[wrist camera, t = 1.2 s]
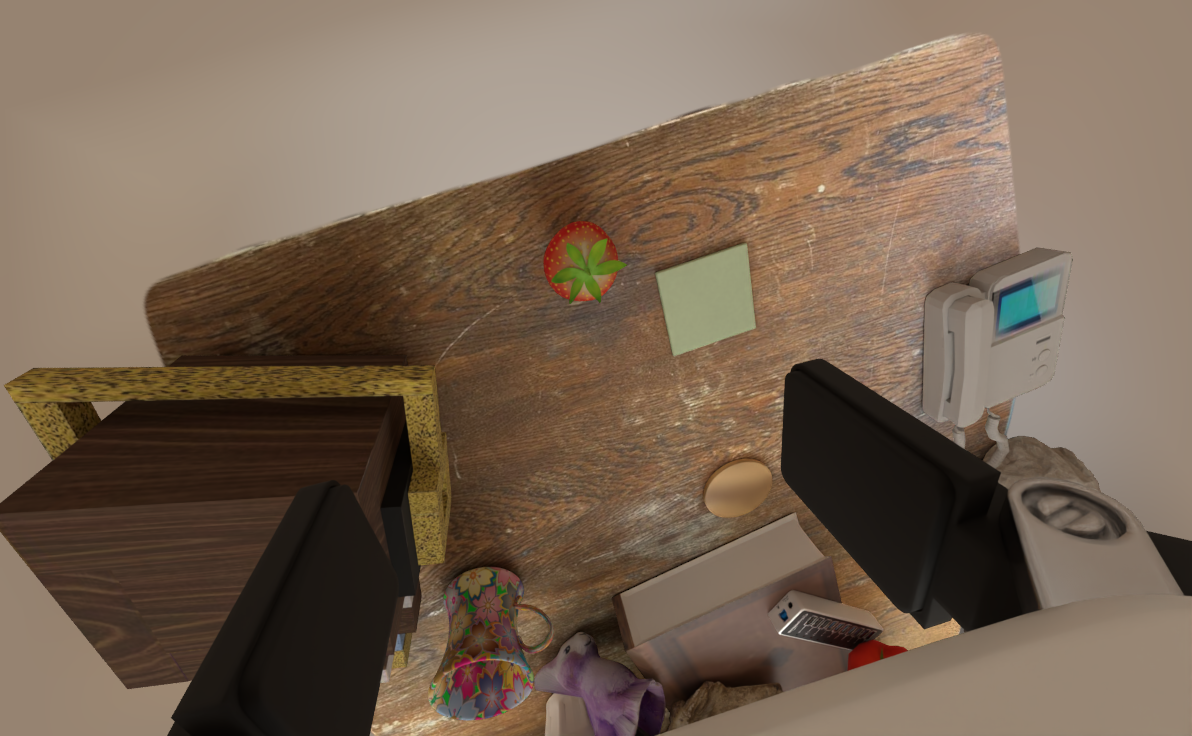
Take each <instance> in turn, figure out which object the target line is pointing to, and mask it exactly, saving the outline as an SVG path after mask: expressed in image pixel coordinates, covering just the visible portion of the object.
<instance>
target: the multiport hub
mask: <svg viewBox="0 0 1192 736" xmlns="http://www.w3.org/2000/svg"><path fill="white" fill-rule="evenodd" d="M768 616H769V617H770V619H771V621H772V623H773V625H774V626H775V628H776V630H777V632H778V633H779V634H780V635H784V636H789V637H793V638H798V639H802V640H807V641H812V642H816V643H821V644H825V645H830V646H834V647H839V648H844V649H848V650H853V649H854V648H855V647H856V646H857V645H858V644H860V643H863V642H866V641H869V640H874V639H875V638H876V637H877V636H878V635H880V634H881V633H882V632H883V630H884V629H883V627H882V626H881V625H880V624H879V622H878V621H877V620H876V618H875V617H874V616H873V615H872V613H871V612H870V611H867V610H863V609H860V608H856V607H853V606H849V605H845V604H842V603H838V602H835V601H831V600H827V599H824V598H820V597H817V596H813V595H809V594H806V593H802V592H799V591H795V590H791V591H789V592H788V593H787V594H786V595H785V596H784V597H783V598H782V599H781V600H780V601H779V602H778V604H777V605H776V606H775V607H774V608H773V609H772V610H771V611H770V612H769V613H768Z"/></svg>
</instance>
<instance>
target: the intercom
mask: <svg viewBox="0 0 1192 736" xmlns="http://www.w3.org/2000/svg"><path fill="white" fill-rule="evenodd" d="M1072 261H1073V259H1072V254H1071V253H1070V252H1064V251H1057V250H1051V249H1044V248H1035V249H1032V250H1030V251H1027V252H1025V253H1022V254H1020V255H1018V256H1015V257H1013V258H1010V259H1008V260H1005V261H1003V262H1000V263H998V264H995V265H993V266H991V267H988V268H986V269H983V270H981V271H979V272H977V273H976V274H975V275H974V276H973V277H972V278H971V280H970V282H969V286H967V285H963V284H959V283H952V282H951V283H949V284H946V285H944V286H941V287H939V288H936V289H934V290H933V291H932V292H931V293H930V294H929V295H928V296H927V298H926V301H925V318H924V365H923V411H924V413H926V414H927V415H928V416H930V417H931V418H933V419H934V420H936V421H937V422H939V423H940V422H946V421H949V420H950V421H952V422H953V423H954V424H955V427H954V428H953V429H952V432H953V438H954V440H953V442H954V443H956V444H957V445H959V446H961V447H962V448H964V449H965V432H964V429H963V428H964V427H966V426H969V425H971V424H973V423H975V422H976V421H977V420H978V419H980V418H981V416H982V414H983V412H984V408H987V413H988V414H990V415H988V418H987V422H986V425H985V429H986V432H987V434H988V437H989V438H990V439H992V440H995V441H996V443H997V447H998V448H997V449H996V451H995V452H994V454H993V455H992V457H991V458H990V459H989V460H988V461H987V462H986V463H987V464H989V465H990V466H992V467H994V468H996V467H998V466H999V465H1000V464H1001V462H1002V461H1003V460H1004V458H1005V457H1006V455H1007V454H1008V452H1009V451H1010V450H1009V444H1008V439H1007V436H1006V435H1004V434H1001V433H999V431H998V429H997V427H998V424H999V421H1000V418H1001V417H1000V416H999V415H996V414H993V413H992V412H991V411H989V408H990V407H993V406H996V405H998V404H1000V403H1003V402H1005V401H1008V400H1010V399H1013V398H1015V397H1017V396H1020V395H1022V394H1025V393H1027V392H1029V391H1032V390H1034V389H1037V388H1039V387H1041V386H1044V385H1045V384H1047V383H1048V382H1049V381H1050V380H1051V379H1052V378H1053V376H1054V372H1055V367H1056V362H1057V356H1058V351H1059V346H1060V341H1061V335H1062V329H1063V324H1064V319H1065V317H1064V316H1063V309H1064V304H1065V299H1066V293H1067V288H1068V282H1069V277H1070V271H1071V266H1072ZM956 426H958V427H956Z"/></svg>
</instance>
